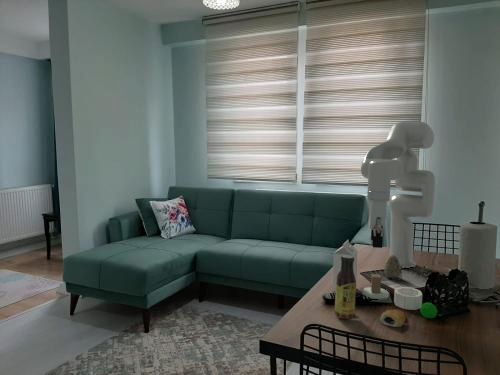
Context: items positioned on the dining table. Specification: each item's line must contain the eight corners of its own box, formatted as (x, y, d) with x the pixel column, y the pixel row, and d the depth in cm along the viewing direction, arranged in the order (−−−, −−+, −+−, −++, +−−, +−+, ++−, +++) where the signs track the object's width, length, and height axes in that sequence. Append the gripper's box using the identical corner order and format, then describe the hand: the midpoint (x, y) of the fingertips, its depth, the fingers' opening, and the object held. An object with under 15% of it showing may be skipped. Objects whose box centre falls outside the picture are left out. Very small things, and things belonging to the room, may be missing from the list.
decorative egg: (385, 275, 167) (386, 252, 166) (400, 278, 164) (402, 254, 163) (383, 280, 162) (384, 256, 161) (398, 283, 159) (400, 258, 158)
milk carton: (332, 293, 150) (333, 242, 147) (337, 286, 156) (339, 238, 153) (351, 296, 147) (353, 245, 144) (356, 289, 153) (358, 240, 150)
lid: (361, 289, 152) (362, 270, 151) (387, 291, 150) (387, 272, 149) (363, 298, 143) (363, 279, 142) (390, 301, 141) (391, 281, 140)
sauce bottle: (343, 322, 127) (345, 260, 124) (330, 314, 133) (332, 255, 130) (359, 317, 130) (361, 257, 127) (346, 310, 136) (347, 252, 133)
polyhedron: (420, 320, 128) (421, 305, 128) (419, 313, 133) (419, 299, 132) (437, 322, 127) (438, 307, 126) (435, 315, 131) (436, 301, 131)
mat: (360, 289, 153) (360, 287, 153) (388, 291, 151) (388, 289, 151) (361, 302, 142) (362, 300, 142) (392, 304, 140) (392, 302, 140)
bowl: (393, 299, 143) (393, 286, 143) (418, 301, 142) (419, 288, 141) (396, 310, 135) (396, 295, 135) (423, 312, 134) (423, 297, 133)
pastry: (389, 313, 133) (390, 302, 133) (410, 319, 129) (411, 308, 129) (378, 323, 126) (378, 312, 126) (399, 330, 122) (400, 318, 122)
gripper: (366, 192, 151) (364, 237, 153) (368, 199, 134) (366, 249, 136) (387, 193, 149) (385, 238, 151) (392, 200, 133) (390, 251, 135)
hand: (376, 243), depth 144 cm, fingers open, 9 cm apart
